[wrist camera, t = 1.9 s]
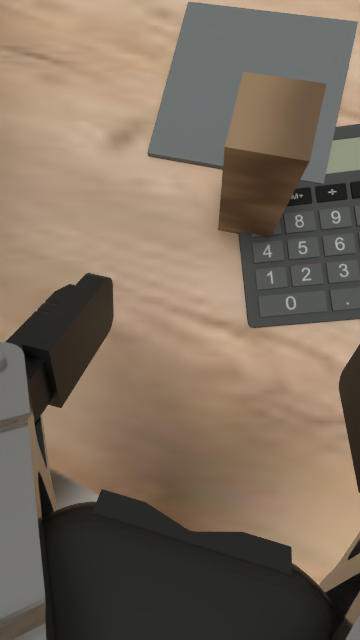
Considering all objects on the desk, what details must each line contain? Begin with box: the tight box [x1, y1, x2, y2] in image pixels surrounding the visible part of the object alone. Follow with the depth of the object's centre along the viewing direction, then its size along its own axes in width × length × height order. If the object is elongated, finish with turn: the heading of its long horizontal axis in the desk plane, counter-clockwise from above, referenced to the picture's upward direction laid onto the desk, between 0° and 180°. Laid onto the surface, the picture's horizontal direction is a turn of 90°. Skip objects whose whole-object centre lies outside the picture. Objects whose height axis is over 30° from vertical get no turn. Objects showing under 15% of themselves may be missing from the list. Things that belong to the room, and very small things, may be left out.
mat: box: [148, 2, 358, 184], centre depth 26 cm, size 14×14×1 cm
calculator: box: [239, 124, 360, 328], centre depth 25 cm, size 12×1×15 cm
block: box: [218, 72, 326, 238], centre depth 20 cm, size 4×4×10 cm
